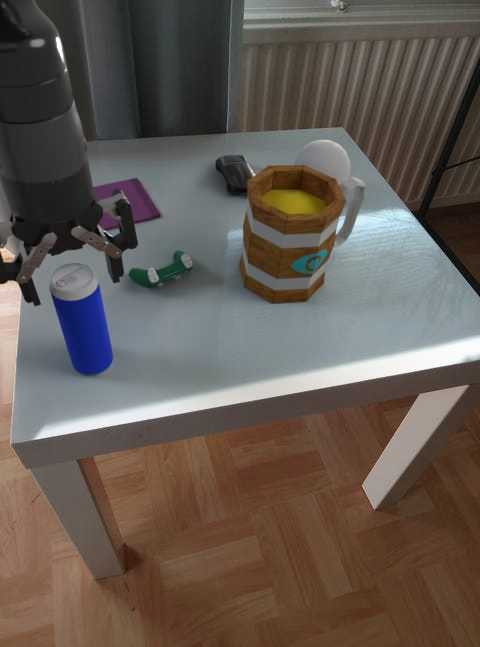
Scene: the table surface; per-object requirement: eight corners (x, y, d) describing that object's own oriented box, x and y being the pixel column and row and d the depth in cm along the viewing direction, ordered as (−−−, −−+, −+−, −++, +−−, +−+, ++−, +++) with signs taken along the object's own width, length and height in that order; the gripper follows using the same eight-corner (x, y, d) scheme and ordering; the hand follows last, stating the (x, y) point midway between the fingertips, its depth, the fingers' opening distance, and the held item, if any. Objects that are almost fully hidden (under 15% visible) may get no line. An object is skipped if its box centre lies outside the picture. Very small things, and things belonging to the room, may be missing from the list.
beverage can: (101, 339, 67) (82, 254, 56) (121, 364, 65) (106, 280, 54) (65, 358, 65) (38, 272, 54) (84, 384, 62) (61, 301, 51)
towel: (78, 236, 81) (78, 234, 80) (59, 195, 87) (59, 193, 87) (161, 216, 85) (161, 214, 85) (137, 179, 92) (136, 177, 92)
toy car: (241, 162, 99) (242, 143, 96) (262, 197, 91) (264, 178, 88) (212, 165, 97) (213, 147, 94) (232, 201, 90) (233, 182, 87)
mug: (268, 317, 72) (282, 234, 61) (221, 260, 79) (226, 176, 68) (372, 274, 80) (401, 194, 68) (321, 226, 87) (340, 146, 76)
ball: (285, 203, 91) (293, 152, 83) (294, 174, 97) (302, 124, 90) (340, 214, 89) (353, 164, 82) (345, 184, 96) (358, 134, 88)
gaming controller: (135, 294, 76) (147, 292, 70) (125, 271, 75) (136, 266, 70) (187, 272, 80) (203, 268, 74) (178, 249, 79) (193, 244, 74)
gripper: (109, 119, 47) (127, 251, 59) (-56, 148, 42) (1, 285, 55) (136, 160, 43) (150, 293, 55) (-44, 197, 38) (15, 333, 50)
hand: (76, 289), depth 55 cm, fingers open, 8 cm apart
